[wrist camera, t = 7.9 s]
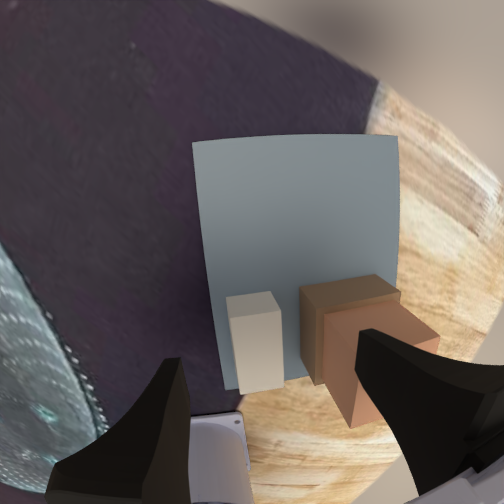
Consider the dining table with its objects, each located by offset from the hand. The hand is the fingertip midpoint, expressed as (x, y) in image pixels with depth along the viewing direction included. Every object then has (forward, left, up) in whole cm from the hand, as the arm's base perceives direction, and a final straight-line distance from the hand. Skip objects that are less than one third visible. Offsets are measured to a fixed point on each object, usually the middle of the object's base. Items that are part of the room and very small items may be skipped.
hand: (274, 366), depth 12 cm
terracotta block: (-4, -7, -6) cm, 10 cm away
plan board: (0, -5, -10) cm, 11 cm away
